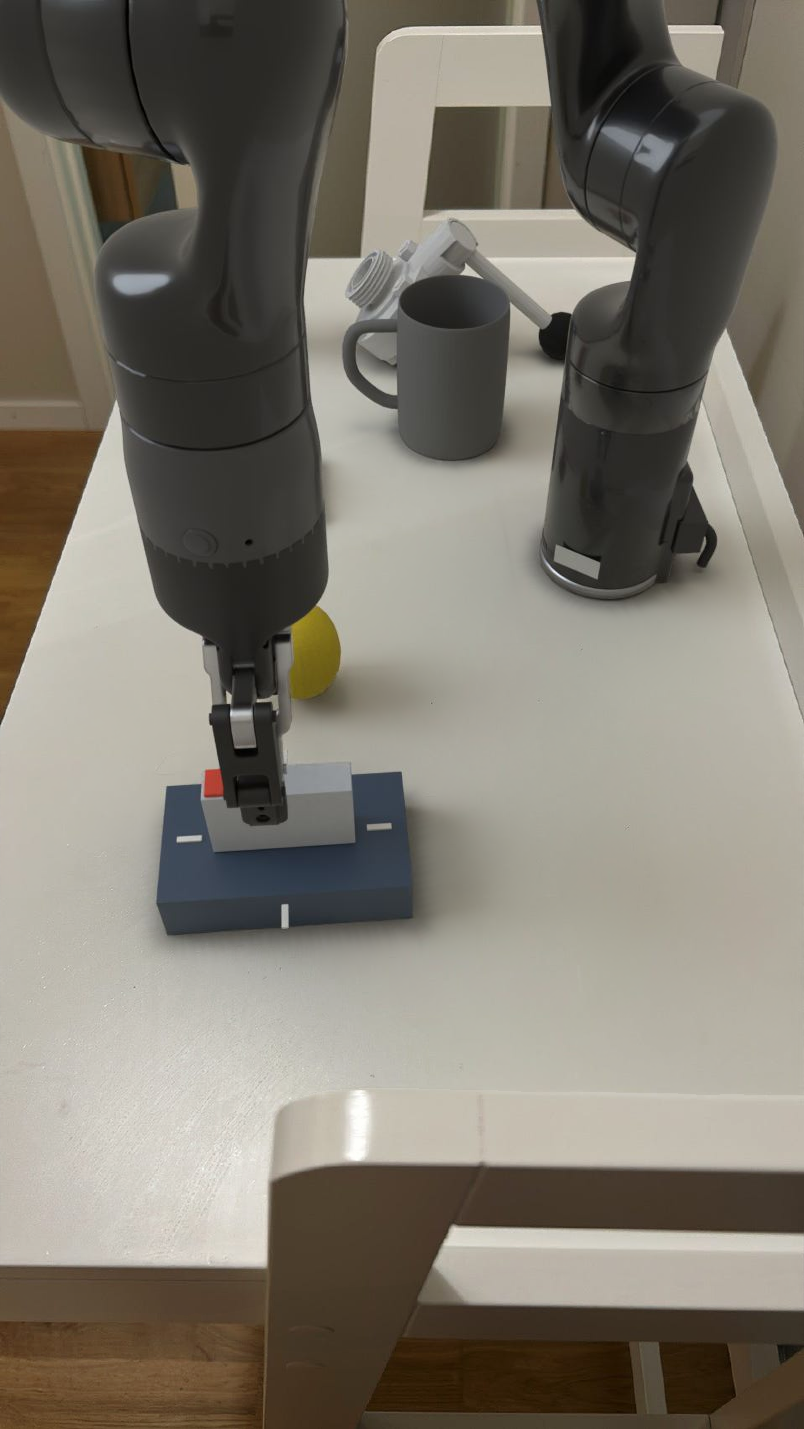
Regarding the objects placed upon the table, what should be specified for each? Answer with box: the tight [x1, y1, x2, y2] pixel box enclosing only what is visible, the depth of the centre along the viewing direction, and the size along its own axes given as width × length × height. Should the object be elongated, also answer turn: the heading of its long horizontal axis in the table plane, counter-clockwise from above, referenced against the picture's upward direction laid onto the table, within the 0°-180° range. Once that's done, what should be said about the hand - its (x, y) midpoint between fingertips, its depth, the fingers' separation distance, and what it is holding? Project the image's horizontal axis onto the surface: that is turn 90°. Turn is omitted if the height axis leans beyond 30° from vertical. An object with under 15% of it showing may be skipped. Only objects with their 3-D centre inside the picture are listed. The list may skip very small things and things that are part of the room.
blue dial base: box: [155, 748, 414, 936], centre depth 61 cm, size 14×12×4 cm
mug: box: [341, 274, 511, 461], centre depth 87 cm, size 14×9×12 cm
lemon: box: [289, 605, 342, 700], centre depth 68 cm, size 6×6×8 cm
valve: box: [344, 217, 572, 366], centre depth 98 cm, size 10×20×15 cm
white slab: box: [201, 761, 356, 852], centre depth 58 cm, size 8×2×5 cm, turn 94°
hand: (267, 750), depth 54 cm, fingers open, 8 cm apart
